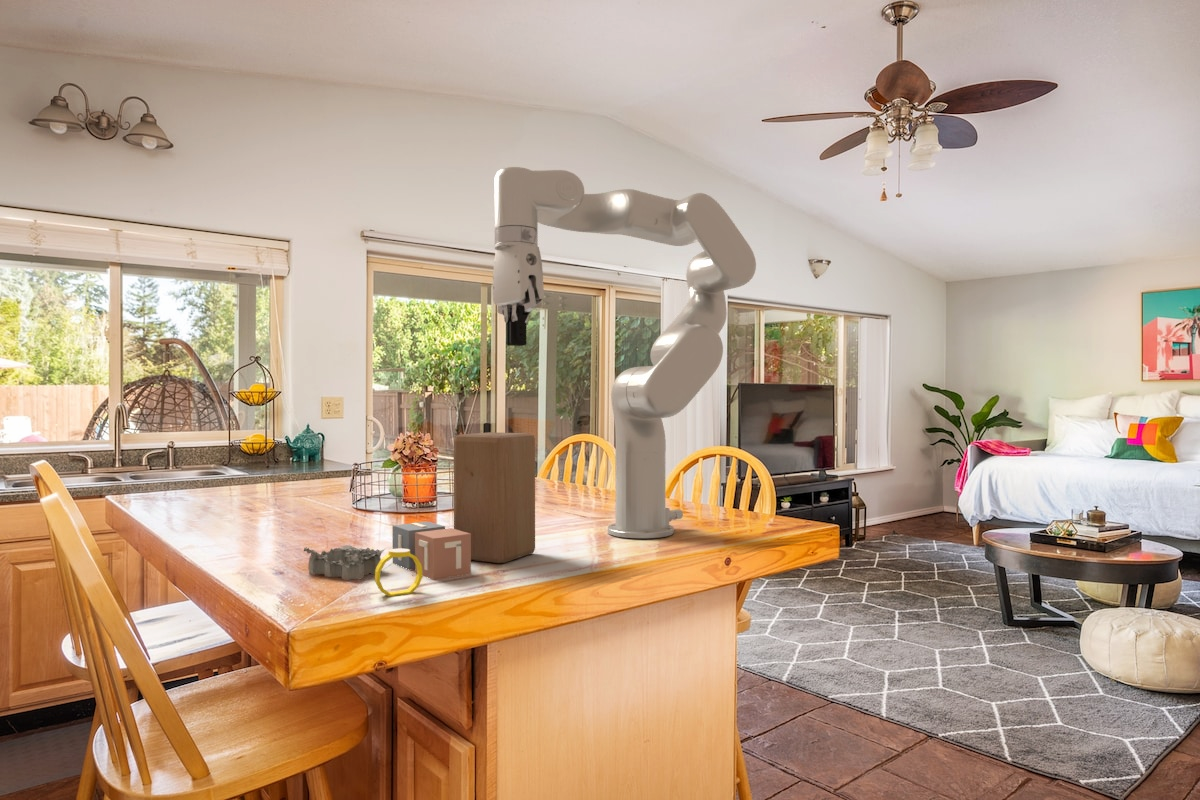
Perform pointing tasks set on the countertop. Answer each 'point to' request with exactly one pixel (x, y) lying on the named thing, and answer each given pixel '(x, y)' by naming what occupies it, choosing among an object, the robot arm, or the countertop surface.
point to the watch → (398, 553)
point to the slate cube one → (409, 540)
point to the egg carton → (344, 562)
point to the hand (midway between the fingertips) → (516, 345)
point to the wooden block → (495, 494)
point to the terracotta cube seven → (443, 553)
